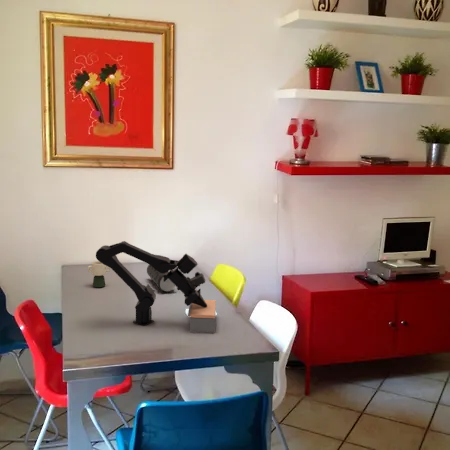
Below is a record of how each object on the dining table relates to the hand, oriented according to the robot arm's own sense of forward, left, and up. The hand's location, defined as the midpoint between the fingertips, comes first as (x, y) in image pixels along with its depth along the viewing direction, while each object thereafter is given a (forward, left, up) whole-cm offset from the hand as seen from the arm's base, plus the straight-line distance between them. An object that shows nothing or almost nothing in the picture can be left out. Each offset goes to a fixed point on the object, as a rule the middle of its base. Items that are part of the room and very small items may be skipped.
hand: (206, 306), depth 223 cm
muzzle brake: (+30, +52, -8) cm, 60 cm away
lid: (-1, +2, -1) cm, 2 cm away
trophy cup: (+9, +76, -8) cm, 77 cm away
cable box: (+3, +4, -8) cm, 9 cm away
